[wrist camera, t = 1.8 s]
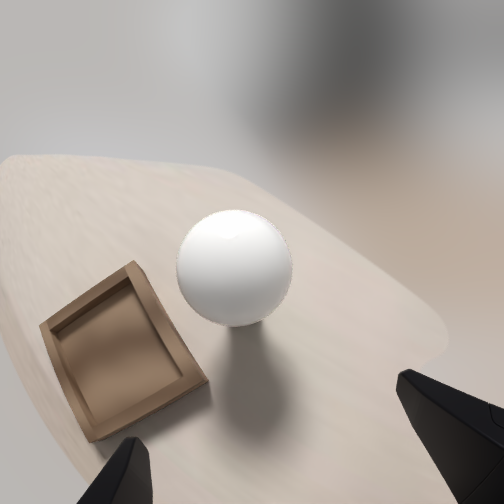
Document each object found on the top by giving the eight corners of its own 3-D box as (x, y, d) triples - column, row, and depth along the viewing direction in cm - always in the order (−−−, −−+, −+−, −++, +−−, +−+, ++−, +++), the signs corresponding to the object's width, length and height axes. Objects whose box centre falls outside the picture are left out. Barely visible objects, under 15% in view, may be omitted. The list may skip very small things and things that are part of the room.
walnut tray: (208, 380, 21) (203, 380, 19) (102, 440, 19) (89, 443, 17) (142, 270, 25) (133, 259, 23) (52, 331, 23) (38, 325, 21)
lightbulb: (296, 288, 24) (319, 215, 14) (260, 359, 22) (258, 336, 12) (227, 256, 26) (206, 170, 16) (188, 321, 23) (135, 269, 13)
